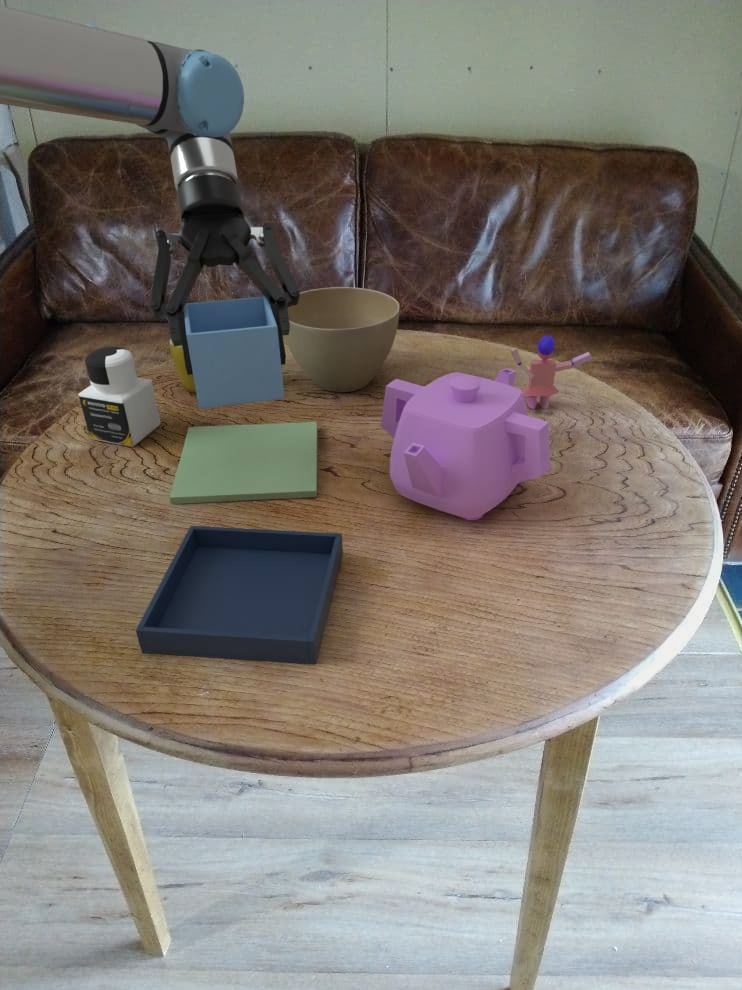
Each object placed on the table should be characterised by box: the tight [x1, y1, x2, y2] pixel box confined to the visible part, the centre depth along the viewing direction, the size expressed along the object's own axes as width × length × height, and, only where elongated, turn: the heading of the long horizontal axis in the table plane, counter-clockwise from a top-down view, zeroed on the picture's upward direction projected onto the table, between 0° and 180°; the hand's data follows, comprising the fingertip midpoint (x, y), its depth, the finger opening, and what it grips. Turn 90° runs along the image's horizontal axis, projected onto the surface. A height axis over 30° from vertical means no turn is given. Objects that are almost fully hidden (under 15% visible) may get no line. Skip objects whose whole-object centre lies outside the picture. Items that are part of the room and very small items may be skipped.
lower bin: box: [135, 525, 344, 665], centre depth 83 cm, size 17×17×3 cm
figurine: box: [509, 335, 592, 410], centre depth 116 cm, size 3×12×11 cm, turn 100°
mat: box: [169, 421, 318, 505], centre depth 106 cm, size 18×18×1 cm
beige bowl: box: [283, 286, 401, 393], centre depth 122 cm, size 18×18×12 cm
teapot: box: [380, 367, 551, 521], centre depth 96 cm, size 19×18×15 cm
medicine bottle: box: [78, 346, 161, 448], centre depth 109 cm, size 7×7×12 cm
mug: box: [168, 338, 197, 395], centre depth 124 cm, size 12×10×10 cm
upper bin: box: [183, 295, 285, 409], centre depth 95 cm, size 10×10×9 cm
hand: (236, 365), depth 93 cm, fingers closed on upper bin, 10 cm apart
